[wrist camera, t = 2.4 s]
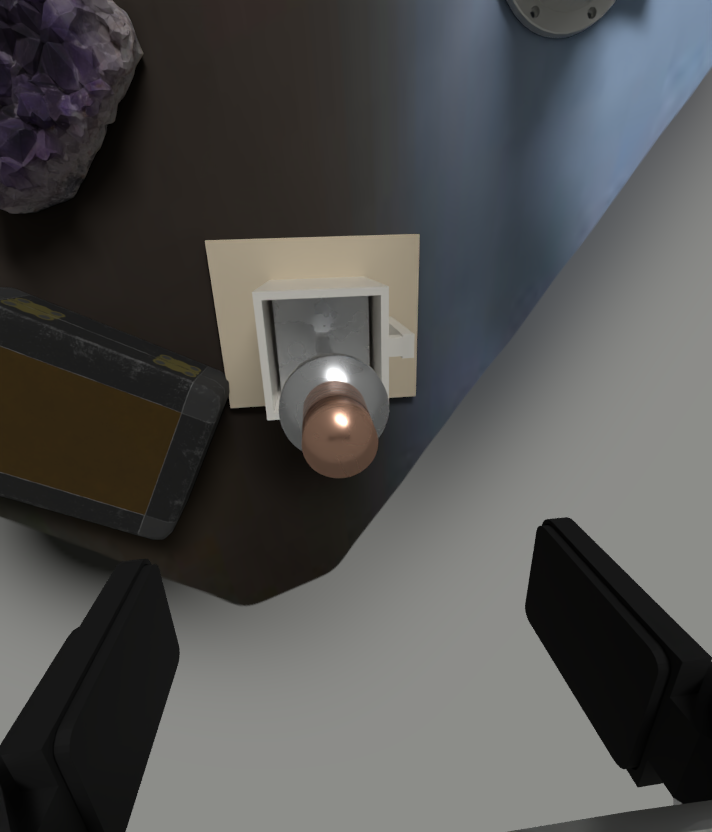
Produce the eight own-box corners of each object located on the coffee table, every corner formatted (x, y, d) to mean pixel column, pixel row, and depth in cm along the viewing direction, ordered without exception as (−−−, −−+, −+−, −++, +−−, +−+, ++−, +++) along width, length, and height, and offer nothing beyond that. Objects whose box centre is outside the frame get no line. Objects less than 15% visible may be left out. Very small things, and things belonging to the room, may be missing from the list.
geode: (91, 252, 42) (11, 247, 33) (-21, 185, 40) (-140, 158, 31) (172, 41, 36) (102, -40, 27) (44, -50, 34) (-79, -172, 25)
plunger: (367, 295, 35) (438, 344, 16) (369, 384, 38) (430, 516, 19) (272, 299, 35) (228, 355, 15) (281, 390, 37) (254, 532, 18)
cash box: (-32, 445, 48) (-91, 479, 41) (0, 280, 42) (-63, 285, 35) (183, 511, 54) (164, 551, 47) (236, 375, 48) (224, 396, 41)
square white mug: (416, 234, 44) (471, 225, 30) (413, 393, 51) (456, 449, 36) (207, 240, 43) (153, 233, 28) (232, 404, 49) (199, 469, 34)
